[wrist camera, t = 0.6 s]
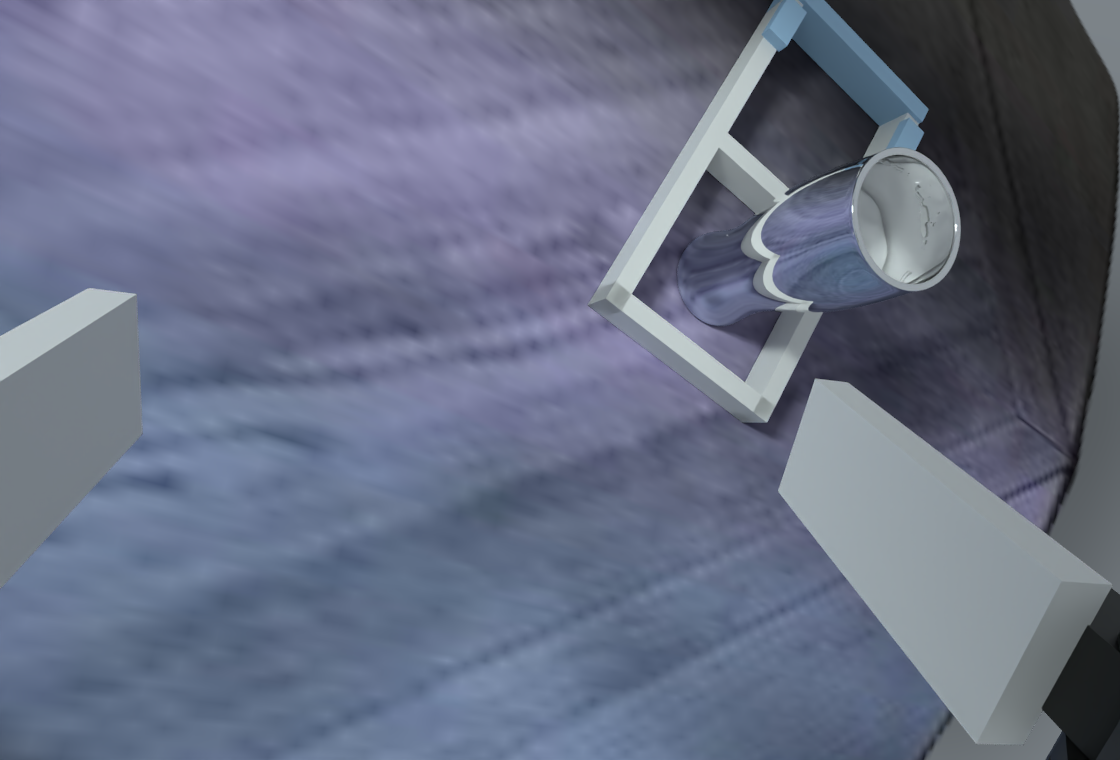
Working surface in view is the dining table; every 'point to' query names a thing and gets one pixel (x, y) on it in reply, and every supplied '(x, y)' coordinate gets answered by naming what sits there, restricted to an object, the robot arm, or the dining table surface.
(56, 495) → the robot arm
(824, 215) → the beer glass
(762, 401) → the frame
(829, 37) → the light blue bracket
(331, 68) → the dining table surface
